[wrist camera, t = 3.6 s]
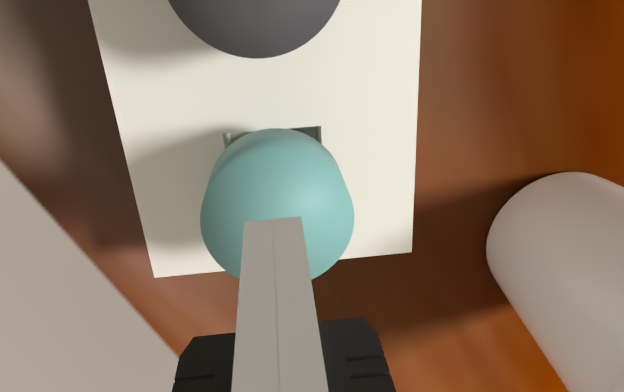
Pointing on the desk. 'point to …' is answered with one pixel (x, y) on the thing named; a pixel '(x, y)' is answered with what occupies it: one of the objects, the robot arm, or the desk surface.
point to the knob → (277, 196)
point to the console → (263, 116)
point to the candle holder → (566, 274)
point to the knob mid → (255, 24)
